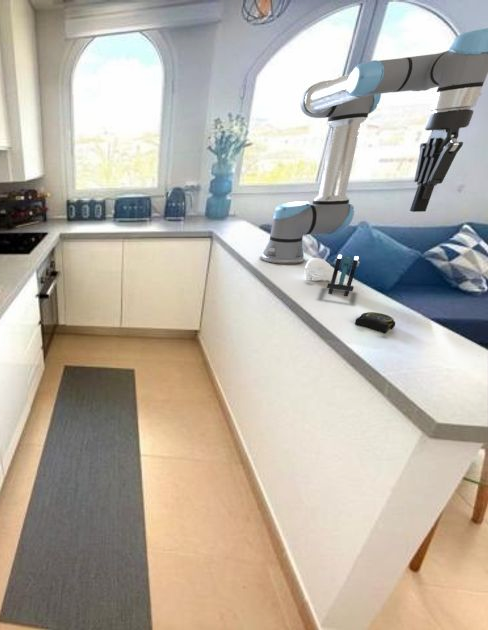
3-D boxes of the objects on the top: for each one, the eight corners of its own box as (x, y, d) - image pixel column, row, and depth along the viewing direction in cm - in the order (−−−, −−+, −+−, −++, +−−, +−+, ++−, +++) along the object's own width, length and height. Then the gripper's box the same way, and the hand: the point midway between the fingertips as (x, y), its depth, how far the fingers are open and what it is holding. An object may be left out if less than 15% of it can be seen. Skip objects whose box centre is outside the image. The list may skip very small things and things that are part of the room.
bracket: (352, 304, 103) (364, 263, 98) (320, 299, 108) (329, 260, 102) (354, 293, 111) (365, 254, 105) (324, 288, 115) (333, 251, 110)
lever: (351, 293, 98) (353, 287, 97) (326, 290, 102) (327, 284, 100) (358, 264, 104) (360, 258, 103) (334, 262, 108) (335, 256, 106)
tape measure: (351, 328, 90) (355, 315, 89) (365, 321, 93) (369, 309, 92) (382, 338, 85) (387, 325, 83) (396, 331, 88) (401, 317, 86)
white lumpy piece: (311, 254, 122) (352, 262, 114) (303, 277, 126) (343, 286, 118) (306, 259, 118) (348, 267, 110) (298, 281, 122) (338, 291, 114)
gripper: (492, 105, 76) (450, 214, 86) (454, 111, 87) (422, 207, 97) (448, 110, 78) (412, 215, 88) (417, 114, 90) (388, 208, 99)
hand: (417, 211), depth 93 cm, fingers closed
